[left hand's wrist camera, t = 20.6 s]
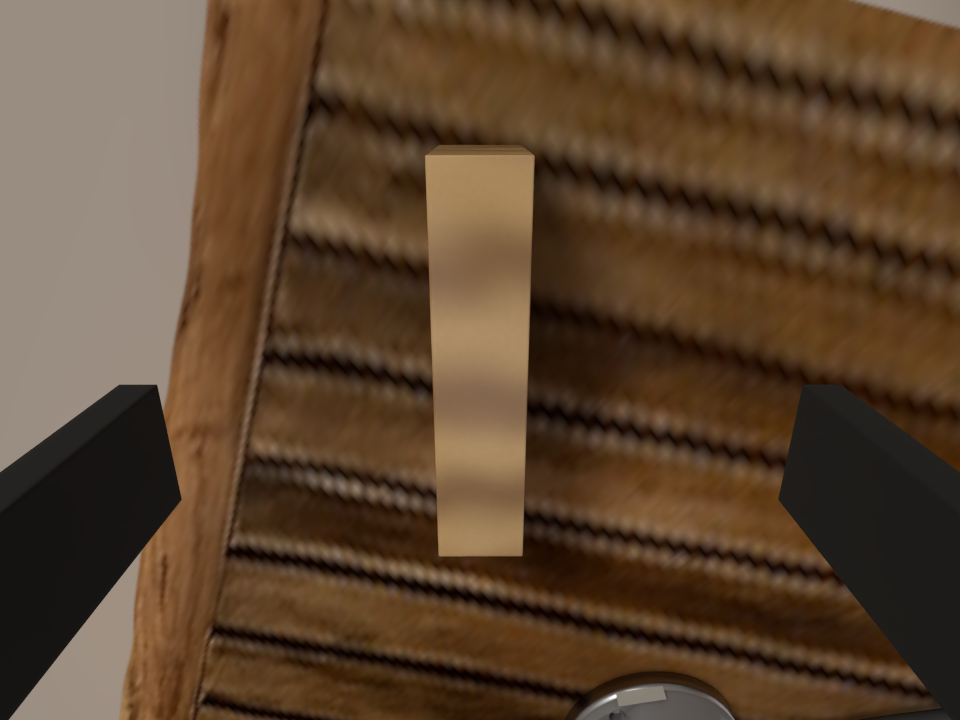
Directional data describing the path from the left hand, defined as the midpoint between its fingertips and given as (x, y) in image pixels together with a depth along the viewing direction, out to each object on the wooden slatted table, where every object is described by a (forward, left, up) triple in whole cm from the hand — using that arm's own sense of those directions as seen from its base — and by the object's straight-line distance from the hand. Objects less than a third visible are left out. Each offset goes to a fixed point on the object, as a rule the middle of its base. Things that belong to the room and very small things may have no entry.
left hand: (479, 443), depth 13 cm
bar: (-1, +6, -27) cm, 27 cm away
